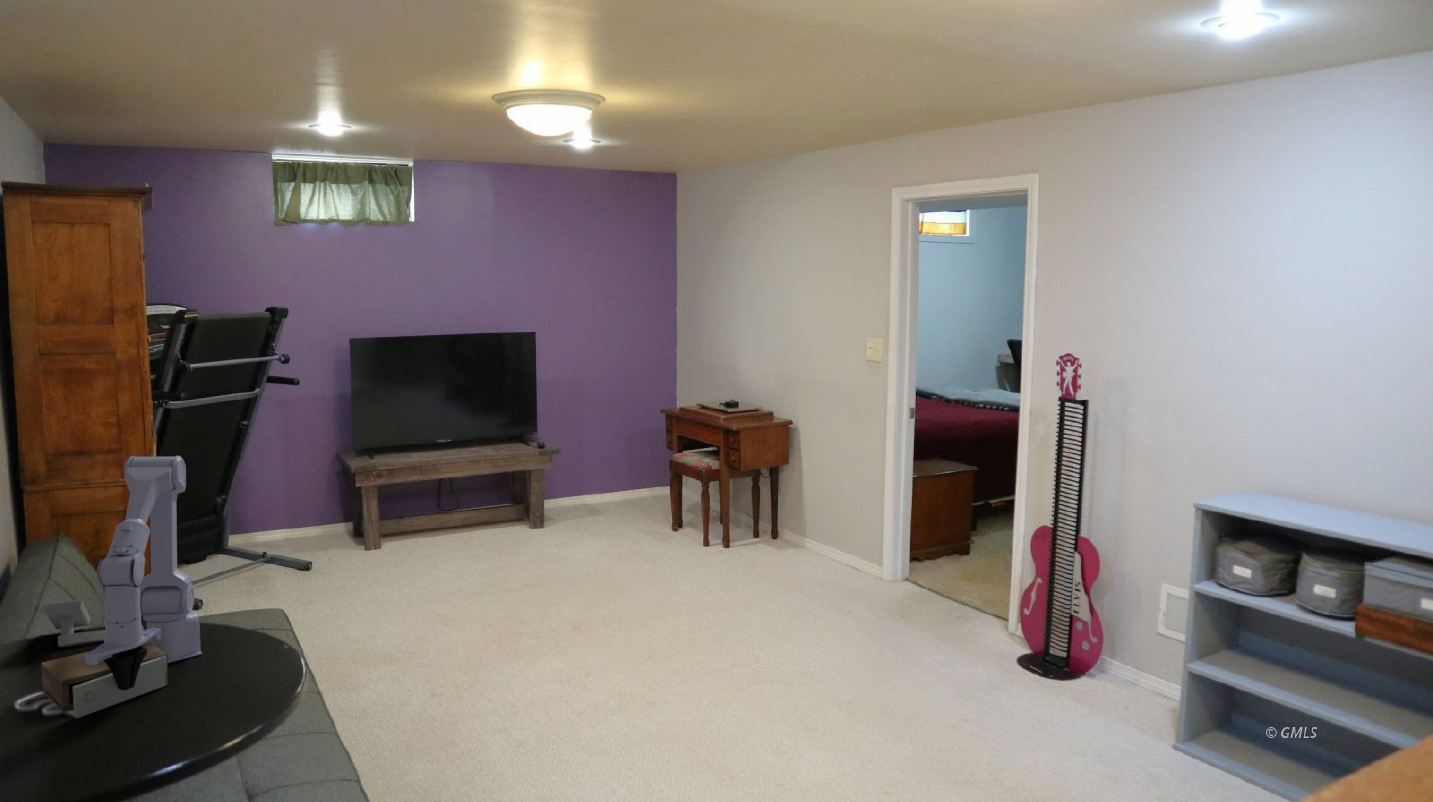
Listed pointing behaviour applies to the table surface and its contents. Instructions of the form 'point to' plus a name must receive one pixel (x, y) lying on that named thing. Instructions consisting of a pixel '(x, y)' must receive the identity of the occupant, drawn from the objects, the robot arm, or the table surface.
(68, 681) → the walnut cabinet
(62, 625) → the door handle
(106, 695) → the cabinet door
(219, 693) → the table surface
